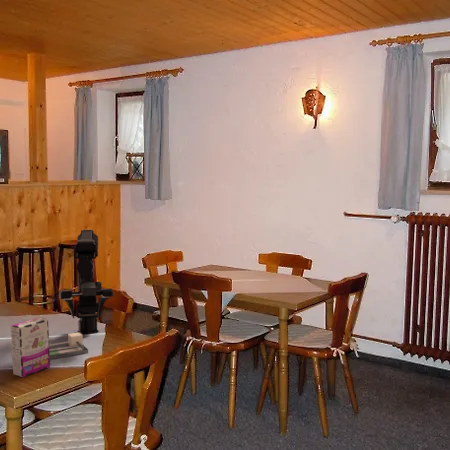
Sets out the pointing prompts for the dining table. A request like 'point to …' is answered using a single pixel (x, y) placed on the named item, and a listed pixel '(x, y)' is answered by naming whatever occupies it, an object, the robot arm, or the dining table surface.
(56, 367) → the dining table surface
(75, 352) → the bench gauge
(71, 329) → the dining table surface
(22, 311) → the dining table surface
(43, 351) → the candy bar box
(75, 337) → the cube with stick handle
